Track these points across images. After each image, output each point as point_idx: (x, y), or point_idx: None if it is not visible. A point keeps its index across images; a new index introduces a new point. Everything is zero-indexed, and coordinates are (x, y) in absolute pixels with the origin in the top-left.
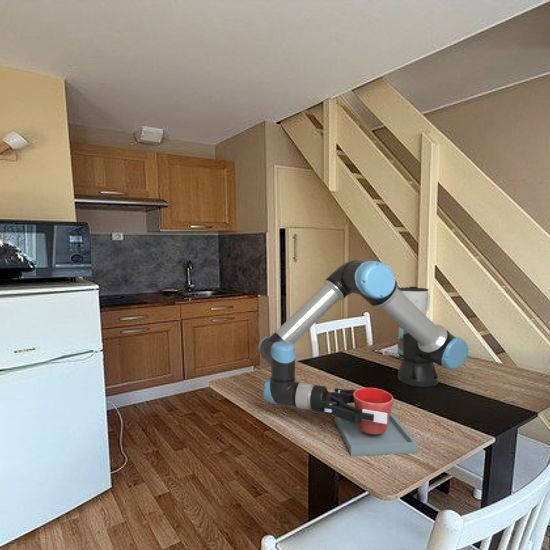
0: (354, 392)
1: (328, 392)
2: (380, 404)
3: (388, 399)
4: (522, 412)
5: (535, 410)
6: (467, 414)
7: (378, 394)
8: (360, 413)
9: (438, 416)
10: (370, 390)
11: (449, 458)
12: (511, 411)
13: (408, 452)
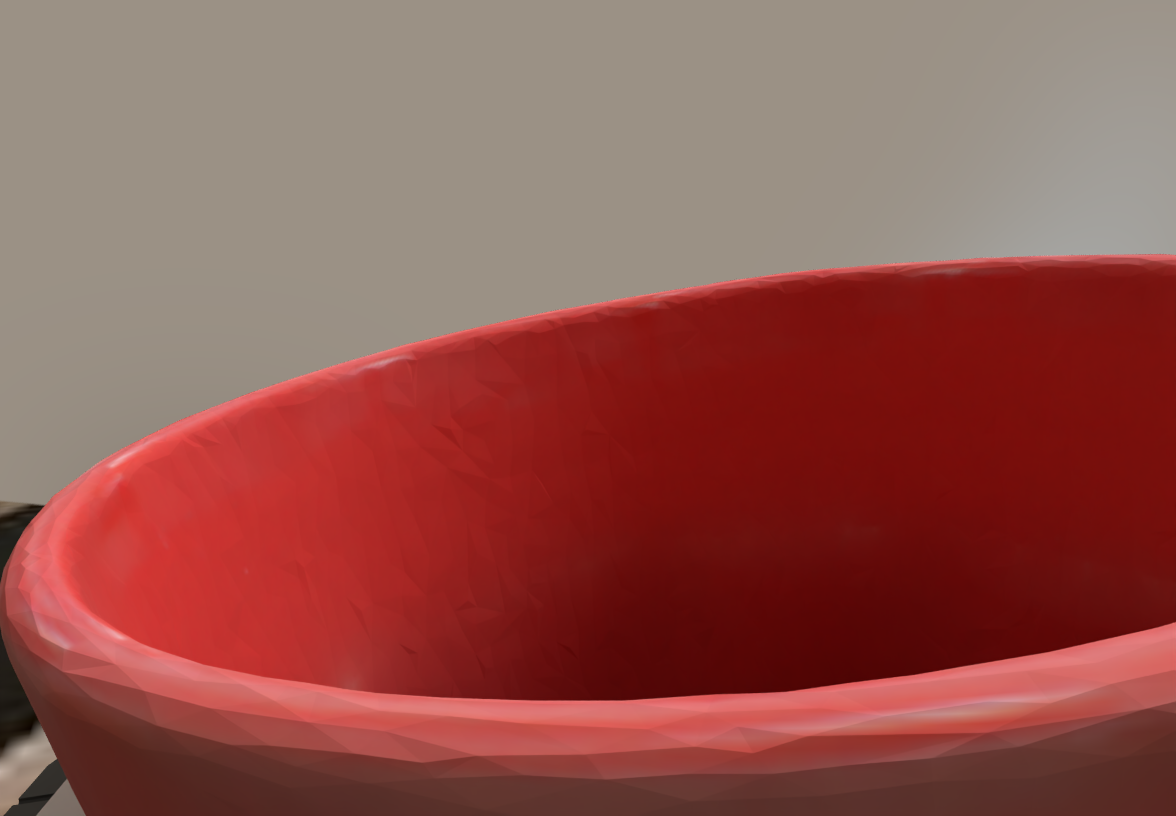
0: (884, 688)
1: None
2: (1124, 274)
3: (497, 457)
4: (25, 524)
5: (10, 506)
6: (3, 648)
7: (252, 566)
8: None
9: (4, 764)
10: (117, 587)
11: None
12: (2, 544)
13: None
